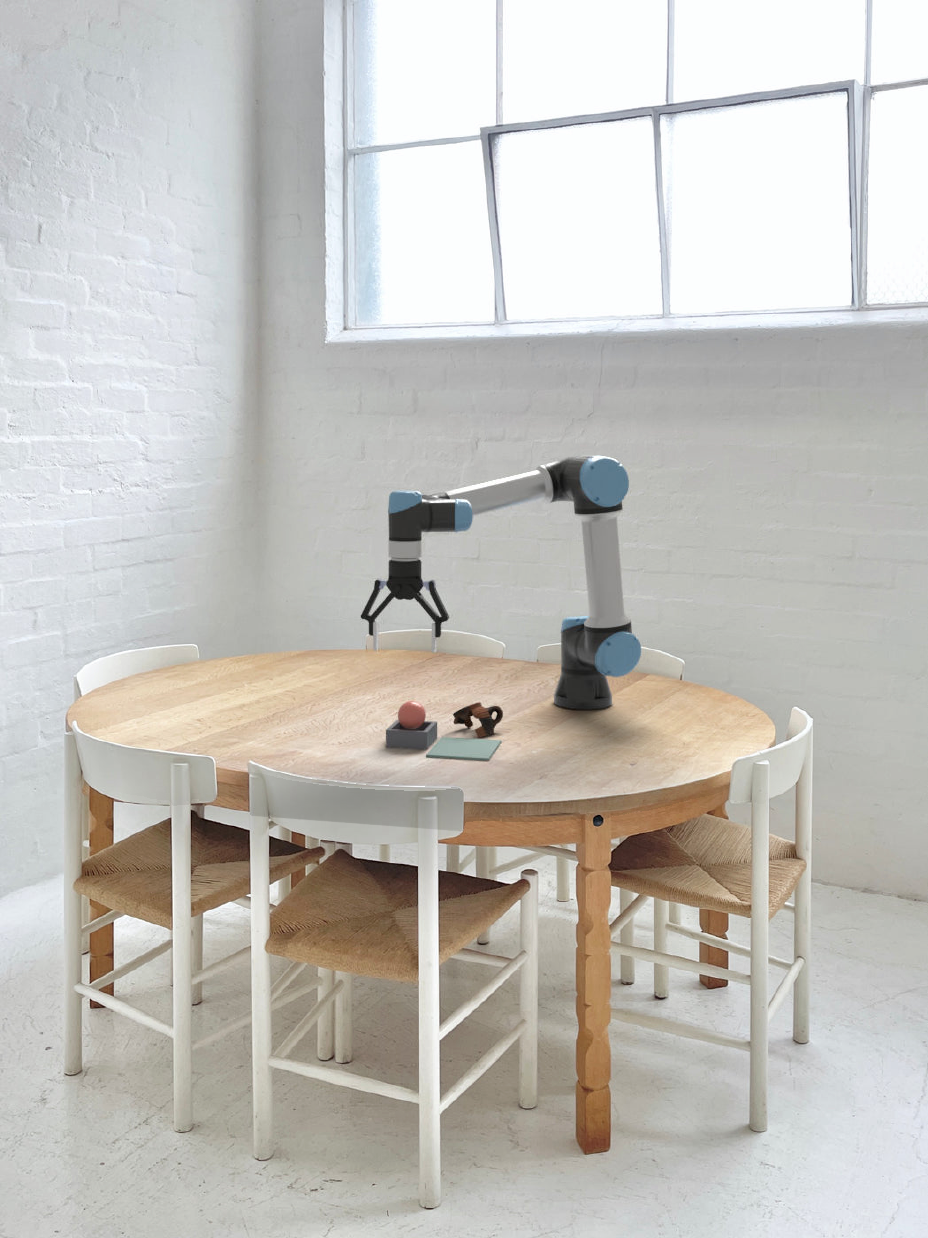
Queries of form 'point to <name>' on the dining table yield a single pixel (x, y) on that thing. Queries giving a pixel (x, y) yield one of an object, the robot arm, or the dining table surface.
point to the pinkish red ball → (411, 715)
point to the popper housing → (411, 735)
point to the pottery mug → (479, 713)
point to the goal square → (464, 748)
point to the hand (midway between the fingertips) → (404, 650)
